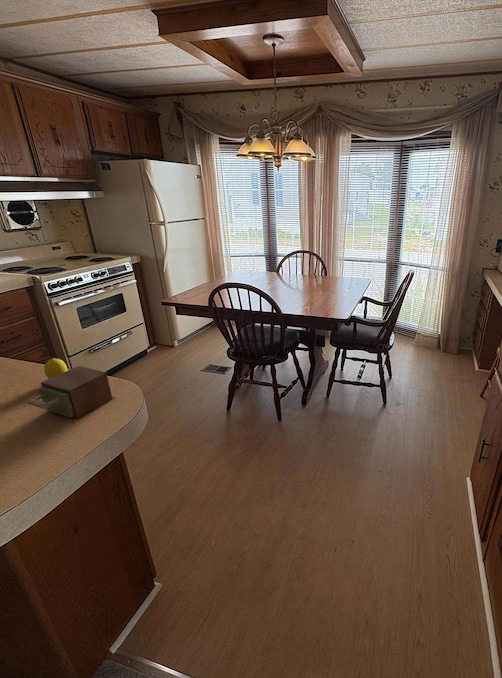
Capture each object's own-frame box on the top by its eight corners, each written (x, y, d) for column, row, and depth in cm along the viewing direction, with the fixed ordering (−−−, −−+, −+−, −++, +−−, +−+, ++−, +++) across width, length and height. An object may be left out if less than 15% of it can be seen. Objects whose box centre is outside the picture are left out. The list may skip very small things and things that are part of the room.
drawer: (54, 427, 85) (46, 404, 83) (28, 418, 88) (20, 396, 86) (103, 399, 97) (98, 378, 95) (79, 392, 100) (73, 372, 98)
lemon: (68, 375, 111) (61, 352, 108) (71, 381, 107) (65, 358, 104) (46, 380, 107) (39, 357, 104) (49, 387, 104) (42, 364, 101)
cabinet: (77, 418, 90) (69, 390, 87) (49, 409, 93) (40, 382, 90) (112, 398, 100) (106, 372, 96) (86, 390, 103) (79, 365, 99)
